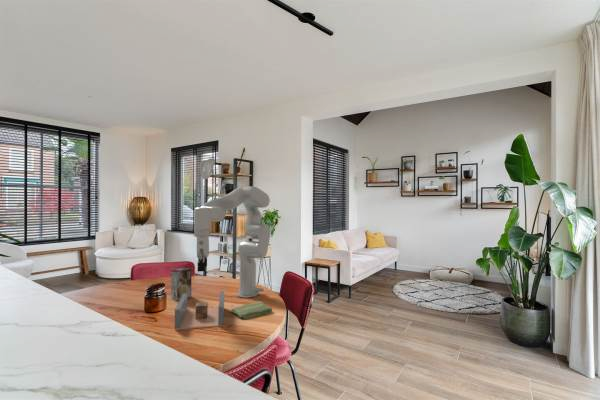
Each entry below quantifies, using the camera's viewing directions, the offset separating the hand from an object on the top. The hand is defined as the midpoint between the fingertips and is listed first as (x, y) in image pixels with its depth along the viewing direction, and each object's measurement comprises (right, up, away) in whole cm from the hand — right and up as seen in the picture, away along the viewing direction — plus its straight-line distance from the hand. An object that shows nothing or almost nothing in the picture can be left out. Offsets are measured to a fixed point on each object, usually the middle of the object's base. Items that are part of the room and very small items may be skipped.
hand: (202, 268), depth 147 cm
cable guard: (0, -23, -2) cm, 23 cm away
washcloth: (+23, -24, +6) cm, 33 cm away
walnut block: (0, -22, -3) cm, 22 cm away
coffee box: (-21, -23, +27) cm, 41 cm away
